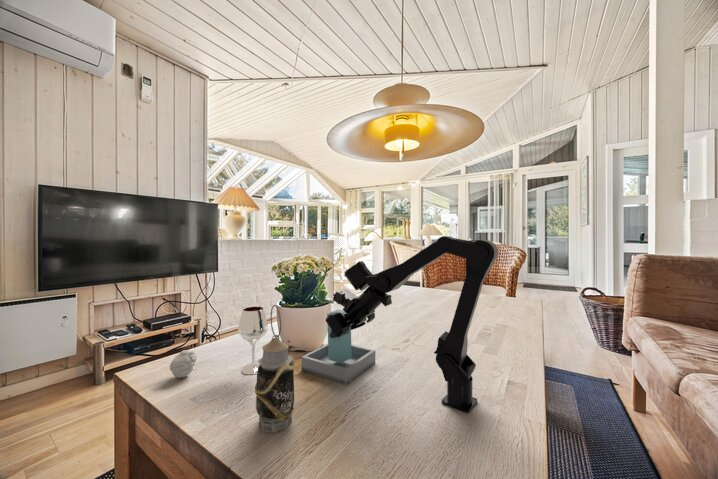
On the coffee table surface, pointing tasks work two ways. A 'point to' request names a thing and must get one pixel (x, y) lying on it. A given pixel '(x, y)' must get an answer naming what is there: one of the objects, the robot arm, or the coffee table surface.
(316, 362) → the grey crate
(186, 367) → the grey rounded lump
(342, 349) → the teal square pillar
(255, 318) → the wineglass
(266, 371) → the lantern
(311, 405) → the coffee table surface
